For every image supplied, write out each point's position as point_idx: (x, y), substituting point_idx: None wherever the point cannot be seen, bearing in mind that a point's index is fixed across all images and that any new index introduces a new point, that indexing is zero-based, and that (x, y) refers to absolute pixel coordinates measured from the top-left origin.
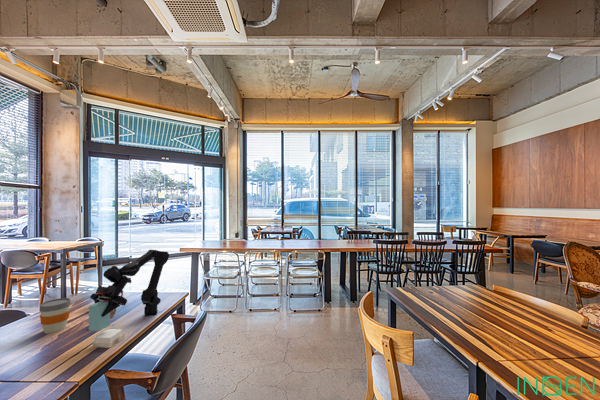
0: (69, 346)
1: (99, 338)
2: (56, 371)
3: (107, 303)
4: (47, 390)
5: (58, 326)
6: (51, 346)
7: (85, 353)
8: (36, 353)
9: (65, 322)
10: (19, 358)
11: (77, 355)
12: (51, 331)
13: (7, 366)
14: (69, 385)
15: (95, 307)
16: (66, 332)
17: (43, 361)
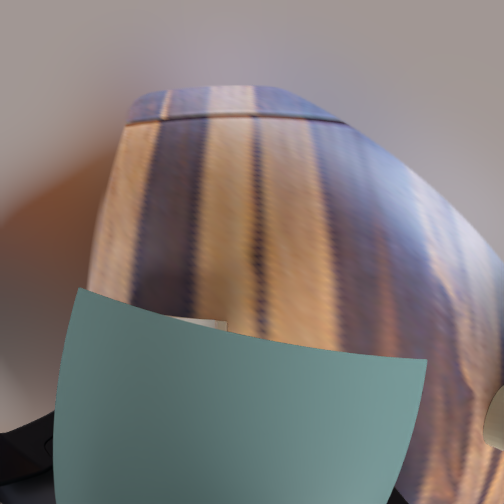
0: (359, 320)
1: (179, 319)
2: (231, 150)
3: (55, 493)
4: (182, 96)
5: (501, 410)
6: (430, 310)
7: (215, 261)
8: (430, 256)
9: (498, 437)
10: (444, 225)
11: (241, 244)
12: (501, 391)
13: (425, 185)
14: (137, 112)
15: (189, 323)
16: (462, 416)
17: (349, 203)
